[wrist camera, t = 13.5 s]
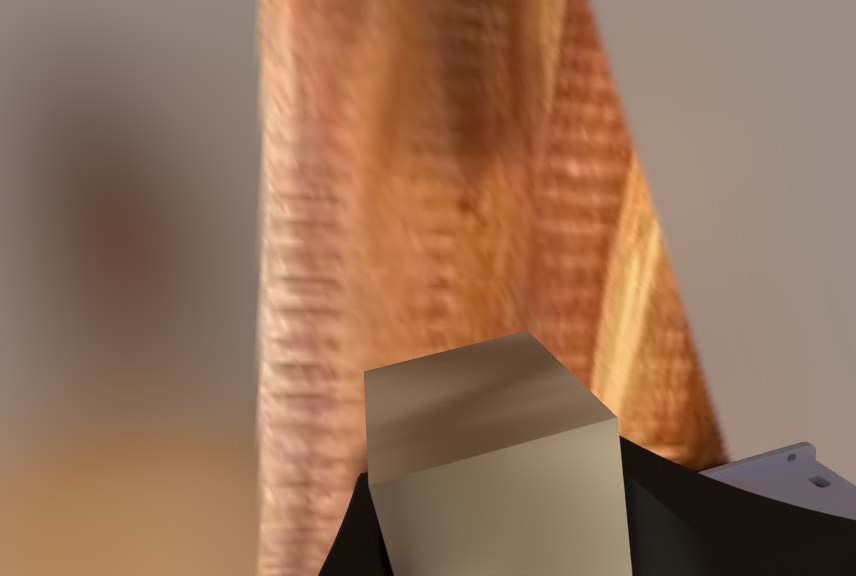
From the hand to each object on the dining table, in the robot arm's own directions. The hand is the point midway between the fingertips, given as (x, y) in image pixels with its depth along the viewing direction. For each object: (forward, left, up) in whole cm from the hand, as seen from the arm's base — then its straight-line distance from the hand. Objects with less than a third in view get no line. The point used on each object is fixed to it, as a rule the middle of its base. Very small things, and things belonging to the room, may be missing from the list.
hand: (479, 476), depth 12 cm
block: (0, -1, -2) cm, 2 cm away
